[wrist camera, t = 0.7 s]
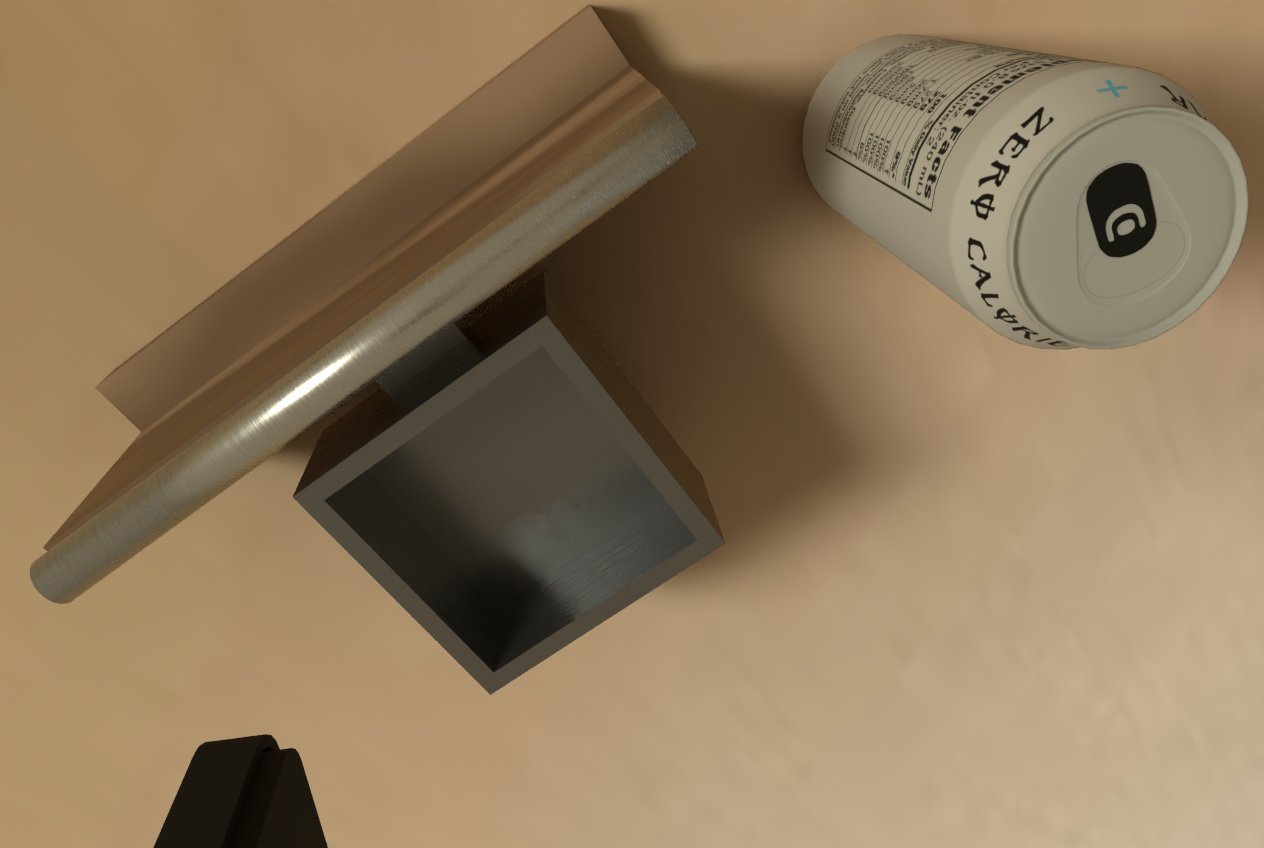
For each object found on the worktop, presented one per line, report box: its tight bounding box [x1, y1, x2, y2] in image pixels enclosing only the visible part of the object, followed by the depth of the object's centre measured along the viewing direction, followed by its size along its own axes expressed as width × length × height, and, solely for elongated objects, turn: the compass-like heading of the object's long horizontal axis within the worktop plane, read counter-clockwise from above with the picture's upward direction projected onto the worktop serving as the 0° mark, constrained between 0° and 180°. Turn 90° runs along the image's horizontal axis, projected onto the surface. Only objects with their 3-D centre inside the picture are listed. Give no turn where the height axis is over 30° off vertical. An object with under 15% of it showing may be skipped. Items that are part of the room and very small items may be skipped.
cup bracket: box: [30, 5, 725, 695], centre depth 31 cm, size 14×20×10 cm
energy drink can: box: [802, 34, 1249, 349], centre depth 27 cm, size 6×6×15 cm
